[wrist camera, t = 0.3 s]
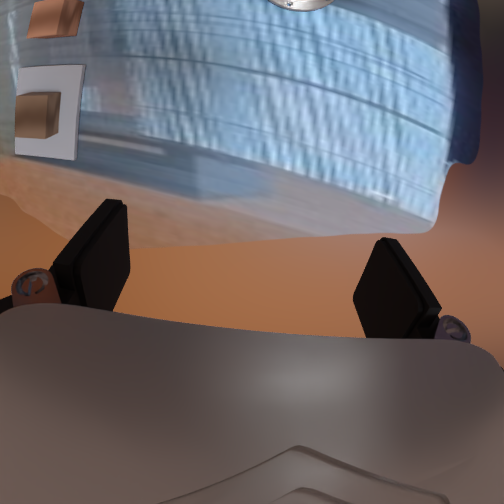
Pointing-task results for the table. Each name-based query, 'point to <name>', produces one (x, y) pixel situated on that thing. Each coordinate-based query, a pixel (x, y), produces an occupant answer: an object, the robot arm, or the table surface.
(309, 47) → the table surface
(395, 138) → the table surface
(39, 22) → the terracotta cube
